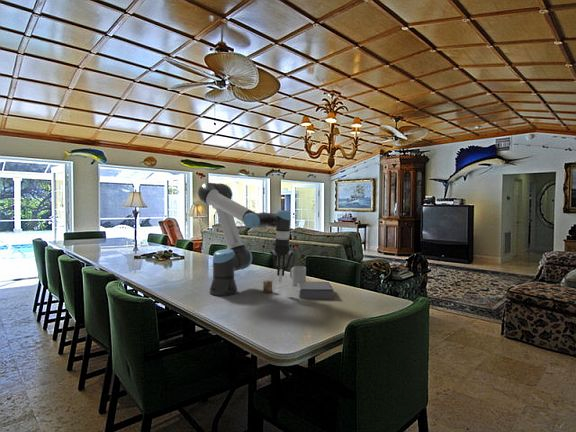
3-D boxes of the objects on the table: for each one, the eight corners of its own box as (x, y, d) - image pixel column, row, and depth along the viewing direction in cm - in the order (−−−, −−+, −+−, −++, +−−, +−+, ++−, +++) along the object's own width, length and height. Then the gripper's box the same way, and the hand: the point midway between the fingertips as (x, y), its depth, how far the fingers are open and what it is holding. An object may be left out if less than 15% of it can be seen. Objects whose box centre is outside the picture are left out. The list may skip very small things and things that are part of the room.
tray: (299, 297, 181) (299, 290, 181) (297, 290, 197) (297, 283, 197) (330, 297, 182) (330, 290, 182) (326, 290, 198) (326, 283, 198)
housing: (301, 298, 180) (301, 289, 180) (299, 290, 198) (299, 281, 198) (333, 298, 181) (333, 289, 181) (328, 290, 199) (328, 281, 199)
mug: (308, 285, 211) (308, 267, 210) (298, 287, 205) (299, 269, 205) (295, 281, 219) (295, 264, 219) (285, 283, 214) (285, 266, 213)
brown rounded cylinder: (263, 293, 190) (263, 282, 190) (263, 290, 195) (263, 280, 195) (272, 293, 190) (272, 282, 190) (272, 290, 195) (272, 280, 195)
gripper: (270, 239, 182) (268, 282, 183) (294, 240, 182) (292, 283, 183) (270, 237, 190) (268, 279, 191) (294, 238, 190) (292, 280, 191)
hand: (280, 281), depth 187 cm, fingers closed
